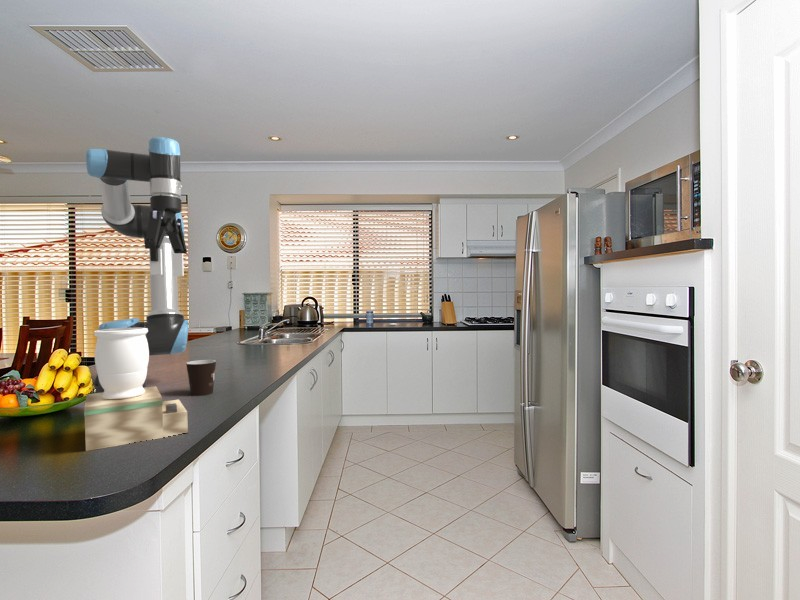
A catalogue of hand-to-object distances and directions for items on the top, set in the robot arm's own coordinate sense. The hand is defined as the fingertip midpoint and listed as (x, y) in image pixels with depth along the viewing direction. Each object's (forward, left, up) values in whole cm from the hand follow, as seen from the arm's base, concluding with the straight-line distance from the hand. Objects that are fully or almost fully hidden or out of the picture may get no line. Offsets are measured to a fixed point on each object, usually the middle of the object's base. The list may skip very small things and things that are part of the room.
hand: (168, 275), depth 122 cm
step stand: (+21, +1, -37) cm, 42 cm away
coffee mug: (-20, +2, -37) cm, 42 cm away
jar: (+22, -1, -28) cm, 35 cm away
